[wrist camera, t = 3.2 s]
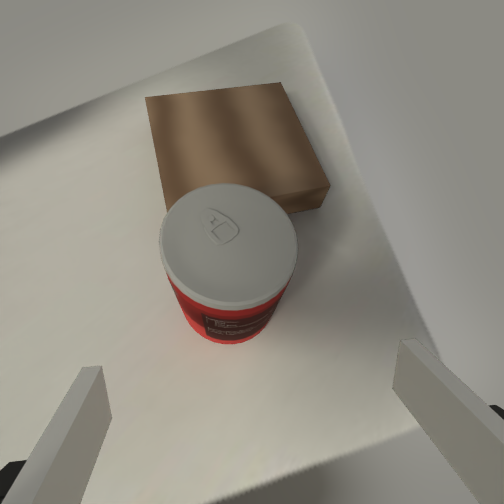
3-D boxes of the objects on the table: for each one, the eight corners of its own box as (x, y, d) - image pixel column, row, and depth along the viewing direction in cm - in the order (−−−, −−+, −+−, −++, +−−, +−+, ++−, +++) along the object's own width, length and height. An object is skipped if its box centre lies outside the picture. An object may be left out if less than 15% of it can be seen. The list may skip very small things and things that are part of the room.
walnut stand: (173, 236, 29) (167, 215, 26) (151, 124, 35) (144, 97, 32) (320, 207, 32) (330, 185, 29) (276, 108, 38) (280, 82, 35)
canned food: (217, 244, 29) (213, 161, 20) (289, 291, 28) (324, 227, 18) (162, 309, 26) (124, 249, 16) (240, 366, 25) (250, 338, 15)
